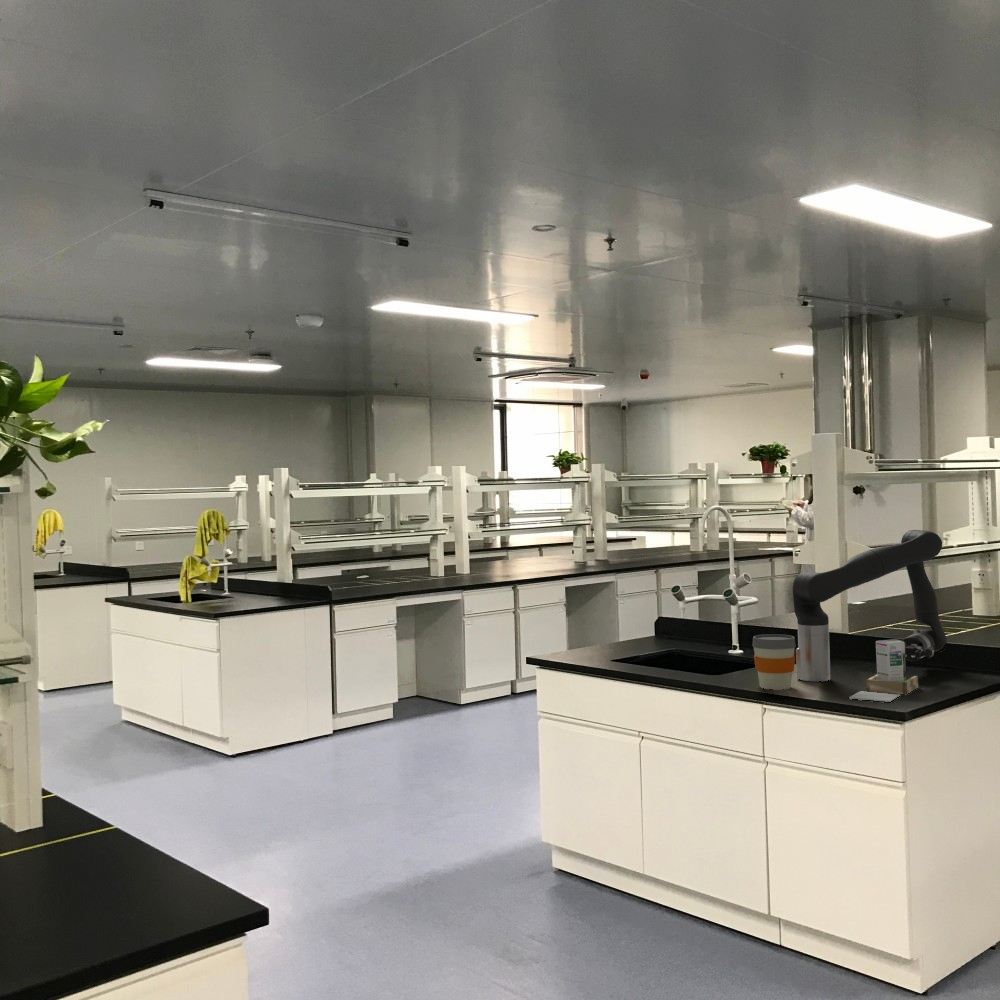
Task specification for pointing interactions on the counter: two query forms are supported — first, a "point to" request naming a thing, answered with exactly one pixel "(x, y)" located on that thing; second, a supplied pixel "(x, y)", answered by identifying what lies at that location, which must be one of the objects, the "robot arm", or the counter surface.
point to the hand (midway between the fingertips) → (900, 654)
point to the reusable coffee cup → (774, 660)
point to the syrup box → (891, 660)
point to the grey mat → (874, 696)
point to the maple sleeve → (892, 685)
